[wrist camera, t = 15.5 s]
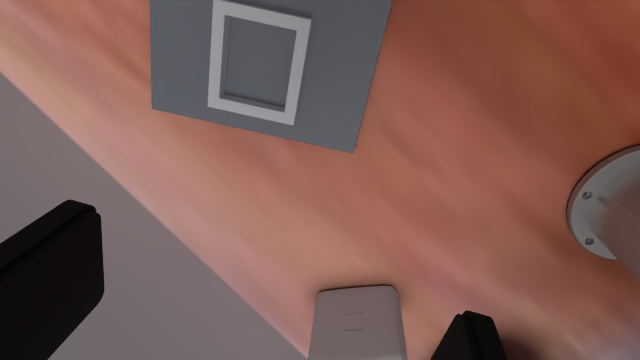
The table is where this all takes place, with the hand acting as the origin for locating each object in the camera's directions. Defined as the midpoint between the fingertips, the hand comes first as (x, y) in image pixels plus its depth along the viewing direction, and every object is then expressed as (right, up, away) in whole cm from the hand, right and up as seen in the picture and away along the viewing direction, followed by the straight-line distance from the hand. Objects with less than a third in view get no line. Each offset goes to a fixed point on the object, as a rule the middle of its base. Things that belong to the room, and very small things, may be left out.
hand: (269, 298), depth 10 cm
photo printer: (+6, -11, +36) cm, 39 cm away
